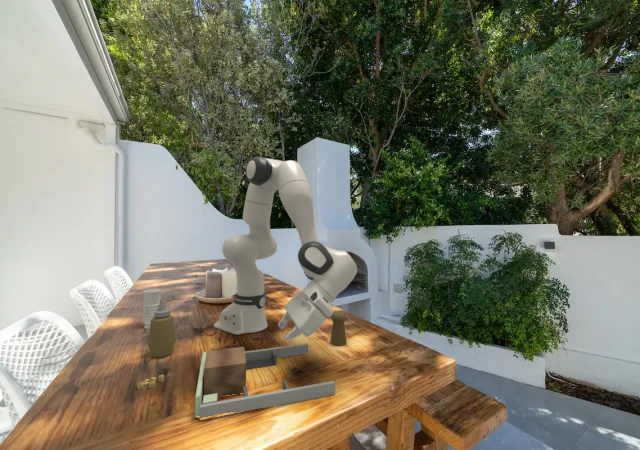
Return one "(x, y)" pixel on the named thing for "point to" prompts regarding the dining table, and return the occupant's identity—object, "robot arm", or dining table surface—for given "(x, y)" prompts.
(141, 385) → the dice set
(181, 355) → the dining table surface
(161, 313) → the squeeze bottle
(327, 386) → the grey u-shaped frame
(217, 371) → the walnut block
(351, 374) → the dining table surface
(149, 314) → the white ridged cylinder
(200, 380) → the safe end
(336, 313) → the olive pawn
